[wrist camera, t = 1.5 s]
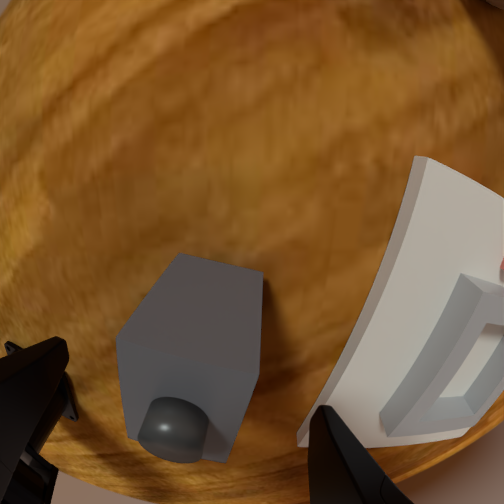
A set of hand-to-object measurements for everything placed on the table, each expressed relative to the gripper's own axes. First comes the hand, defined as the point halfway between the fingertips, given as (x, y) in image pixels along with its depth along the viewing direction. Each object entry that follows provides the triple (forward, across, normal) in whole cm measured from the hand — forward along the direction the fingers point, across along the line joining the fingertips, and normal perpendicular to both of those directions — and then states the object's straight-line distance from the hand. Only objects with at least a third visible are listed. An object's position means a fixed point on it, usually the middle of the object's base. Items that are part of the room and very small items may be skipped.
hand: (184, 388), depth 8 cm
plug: (+5, 0, 0) cm, 5 cm away
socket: (+5, -15, 0) cm, 16 cm away
